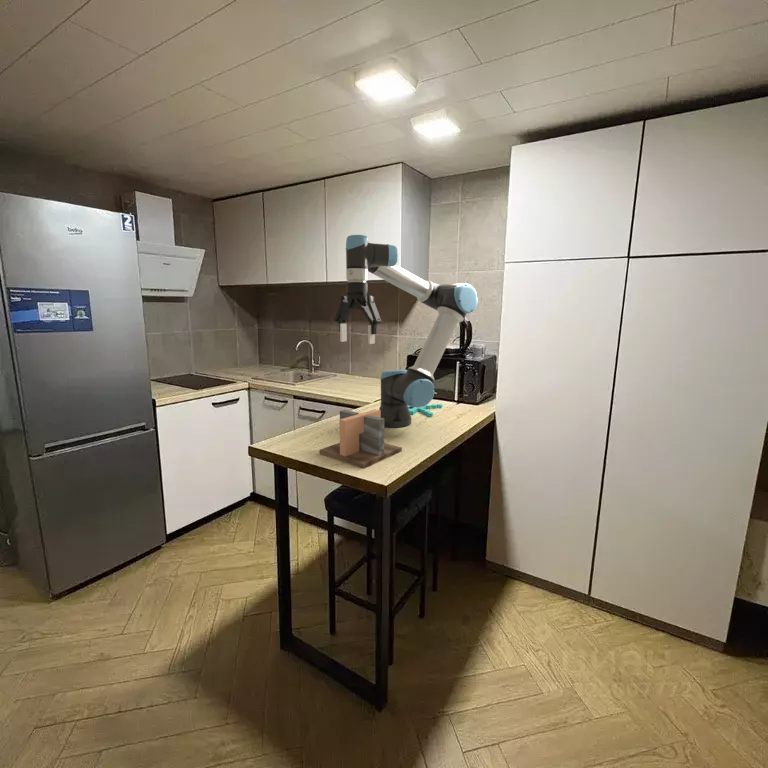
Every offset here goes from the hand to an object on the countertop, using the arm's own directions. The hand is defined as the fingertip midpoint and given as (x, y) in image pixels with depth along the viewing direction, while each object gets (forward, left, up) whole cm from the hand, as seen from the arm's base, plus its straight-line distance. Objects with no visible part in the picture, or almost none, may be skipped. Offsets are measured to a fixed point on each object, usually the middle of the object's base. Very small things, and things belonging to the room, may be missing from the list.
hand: (357, 342), depth 150 cm
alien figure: (-53, -9, -37) cm, 65 cm away
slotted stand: (+9, +10, -37) cm, 39 cm away
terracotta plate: (+9, +10, -35) cm, 38 cm away
